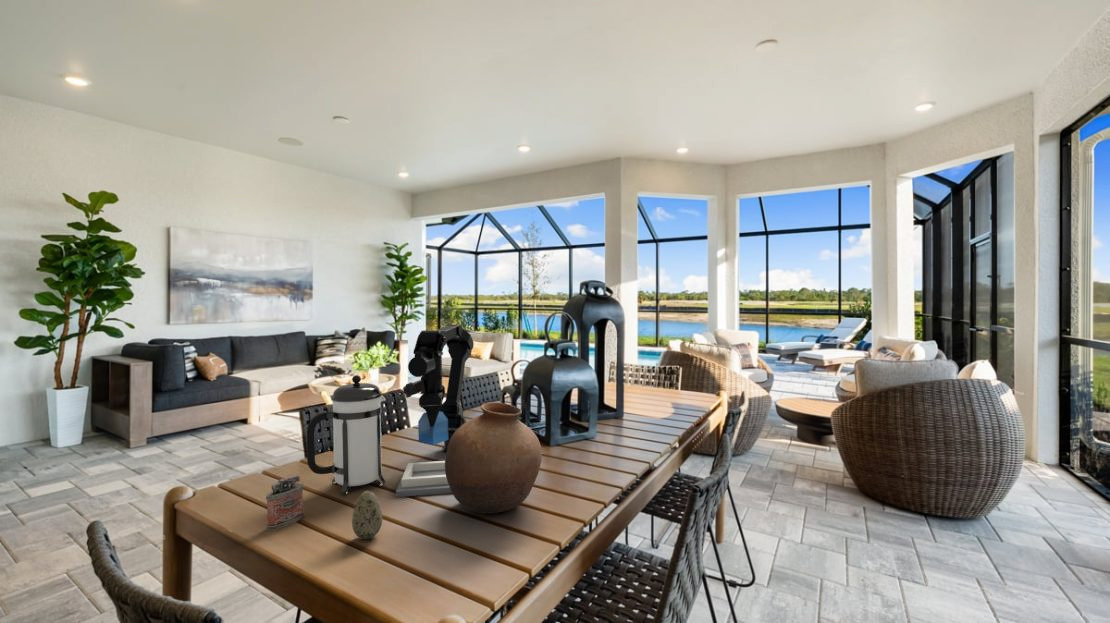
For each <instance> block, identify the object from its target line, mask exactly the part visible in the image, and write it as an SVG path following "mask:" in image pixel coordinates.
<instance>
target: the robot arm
mask: <svg viewBox="0 0 1110 623" xmlns="http://www.w3.org/2000/svg"><path fill="white" fill-rule="evenodd" d="M445 346H447V349H448V350H447V351H448V355H449V356H450V359H451V362H450V370H449V375H448V382H447V383H448V384H447V391H446V387H445V386H444V385H443V355H444V352H443V351H444V348H445ZM473 349H474V340H473V337H472V335H471V334H470V333H469V332H467V331H466V330H465V329H464V328H463V326H462V325H461V324H447V325H445V326H444V327H441V328H437V329H436V330H435V329H434V330H429V329H428V330H421V331H420V332H419V334H418V336H417V338H416V342H415V345H414V350H413V357H412V358H411V359H410V360H409V362H408V364H407V369H408V372H409V374H410V375H412V376H413V377H415V378H416V377H417V378H420V379H419V380H417V381H414V382H409V383H406V384H405V385H404V386H403V387H402V390H403V394H404V395H405V397H406V399H409V398H410V397H412V396H414V395H416V394H419V393H420V394H421V395H420V397H419V398H418V406H419V407H420V408H421V409H423V410H424V411H425V413H427V417H428V421H429V425H430V427H434V425H435V422H436V419H437V416H438V413H439V411H440V412H443V413H444V415H445V416H446V418H447V419H448V440H446V441H443V446H442V453H446V452H447V447H448V444H449V441H450V439H451V437H452V435H453V434H454V433H455V431H456V430H457V429H458V428H459V427H461V426H462V425H463V424H464V423H466V422H467V421H468V420H466V417H465V416H464V409H463V407H462V405H461V395H462V389H463V383H464V382H463V380H464V374H465V365H466V362H467V360H468V359H469V358H470V357H471V356H472V351H473ZM445 394H446V397H445ZM444 398H445V401H444V402H443V400H444Z"/></svg>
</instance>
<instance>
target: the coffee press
mask: <svg viewBox="0 0 1110 623" xmlns="http://www.w3.org/2000/svg"><path fill="white" fill-rule="evenodd" d="M361 380H362V378H361V376H360V375H358V374H357V375H353V376H352V379H351V381H352V382H353V383H349V384H344V385H340V386H338V387H336V389H334V391H333V393H332V395H330V400H331V402H332V409H331V411H329V412H325V411H324V412H321V413H318V414H316V415H314V416H313V417H312V418H311V419H310V421H309V423H308V424H307V428H306V433H305V434H306V437H305V438H306V440H305V441H306V462H307V465H308V468H309V469H310V471H311V472H313V473H315V474H318V475H326V474H334V477H333V479H331V483H332V484H333V482H335V481H336V482H337V484H338V485H340V486H342V487H341V491H340V492H341V495H346V492H349V493H350V490H351V489H352V487H359V486H364V485H367V484H370V483H375V484H376V485H378V486H379V487H383V485H385V484H386V479H385V478H384V477H383V474H382V472H383V471H382V470H383V469H382V468H383V466H382V464H383V463H382V459H383V458H382V426H381V425H382V418H381V416H382V404H381V403H382V402H386V397H385V396H383V392H382V391H381V390H380V388H379V387H378V386H377V385H375V384H373V383H370V382H369V383H367V382H366V383H365V382H362V383H361ZM327 419H332V423H333V424H332V428H333V433H332V434H333V437H332V438H333V463H332V464H331V465H330V466H318V465H317V463H316V456H315V455H316V453H315V452H316V450H315V449H316V447H315V432H316V430H315V429H316V427H317V425H318V424H319V423H320V422H323V421H324V420H327ZM379 479H380V480H379ZM381 483H382V484H383V485H382V486H380V484H381Z"/></svg>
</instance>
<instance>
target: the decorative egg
mask: <svg viewBox="0 0 1110 623" xmlns="http://www.w3.org/2000/svg"><path fill="white" fill-rule="evenodd" d="M382 524H383V512H382V507H381V504H380V501H379V499H378V496H376V494H375V493H374V492H373V491H372V490H371V491H370V490H365V491H363V492H362V493H361V494H360V495H359V497H358V498H357V500H356V502H355V505H354V509H353V512H352V517H351V525H352V530H353V533H354V534H355V535H356V537H358V538H359V539H362V540H369V539H372V538H374V537H375V536H376V535H377V534H378V533H379V531H380V530H381V527H382Z"/></svg>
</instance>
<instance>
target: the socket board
mask: <svg viewBox="0 0 1110 623" xmlns="http://www.w3.org/2000/svg"><path fill="white" fill-rule="evenodd" d="M442 494H452V492H451V489H450V487H449V484H448V481H447V478H446V472H445V460H438V461H437V460H435V461H422V462H421V461H420V462H408V463H407V465H406V467H405V470H404V472H403V474H402V476H401V479H400V481H399V483H398V485H397V488H396V490H395V497H396V498H403V497H415V496H416V495H418V496H429V495H442Z"/></svg>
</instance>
